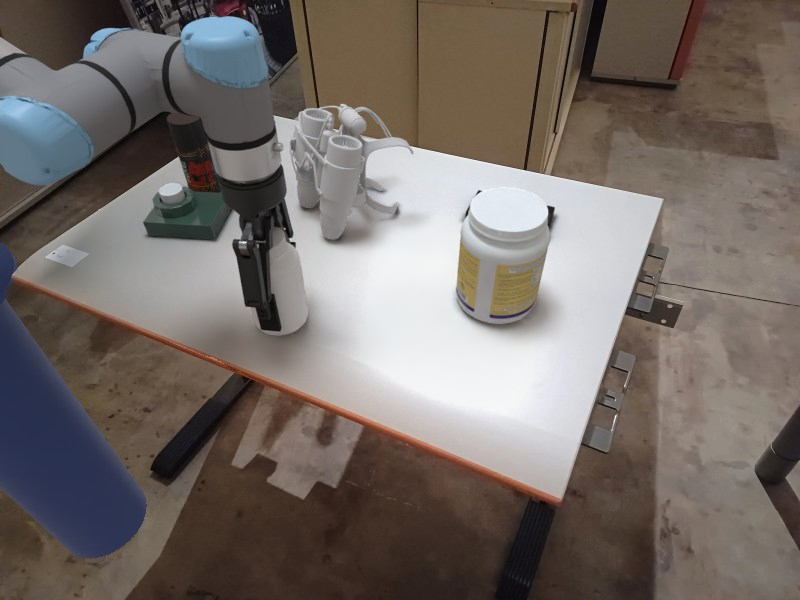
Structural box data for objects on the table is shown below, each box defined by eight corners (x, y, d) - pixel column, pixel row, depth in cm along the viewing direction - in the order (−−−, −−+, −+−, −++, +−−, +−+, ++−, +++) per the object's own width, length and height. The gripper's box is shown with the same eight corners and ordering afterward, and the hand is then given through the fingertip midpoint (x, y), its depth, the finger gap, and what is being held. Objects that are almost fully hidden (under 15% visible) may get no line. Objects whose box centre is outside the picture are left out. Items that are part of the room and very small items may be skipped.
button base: (148, 236, 96) (138, 212, 93) (171, 203, 104) (162, 180, 100) (214, 240, 96) (207, 216, 92) (233, 206, 103) (226, 183, 99)
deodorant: (183, 194, 106) (159, 120, 95) (203, 178, 109) (181, 106, 99) (209, 201, 104) (187, 127, 93) (228, 185, 108) (208, 112, 97)
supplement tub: (543, 284, 87) (565, 193, 75) (523, 337, 79) (544, 245, 67) (469, 264, 90) (478, 175, 79) (443, 313, 83) (450, 222, 71)
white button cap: (158, 205, 95) (154, 195, 94) (167, 192, 98) (164, 182, 97) (180, 206, 95) (177, 196, 93) (189, 193, 98) (186, 183, 96)
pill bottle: (246, 334, 78) (223, 253, 68) (264, 295, 84) (245, 215, 74) (300, 340, 78) (285, 259, 67) (314, 300, 83) (303, 220, 73)
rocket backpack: (410, 235, 101) (436, 131, 89) (315, 247, 92) (331, 132, 80) (367, 189, 112) (385, 90, 100) (278, 195, 103) (287, 87, 91)
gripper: (255, 224, 56) (287, 365, 72) (302, 126, 70) (319, 261, 86) (183, 219, 56) (231, 360, 72) (245, 123, 71) (273, 258, 87)
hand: (279, 306), depth 79 cm, fingers closed on pill bottle, 8 cm apart
